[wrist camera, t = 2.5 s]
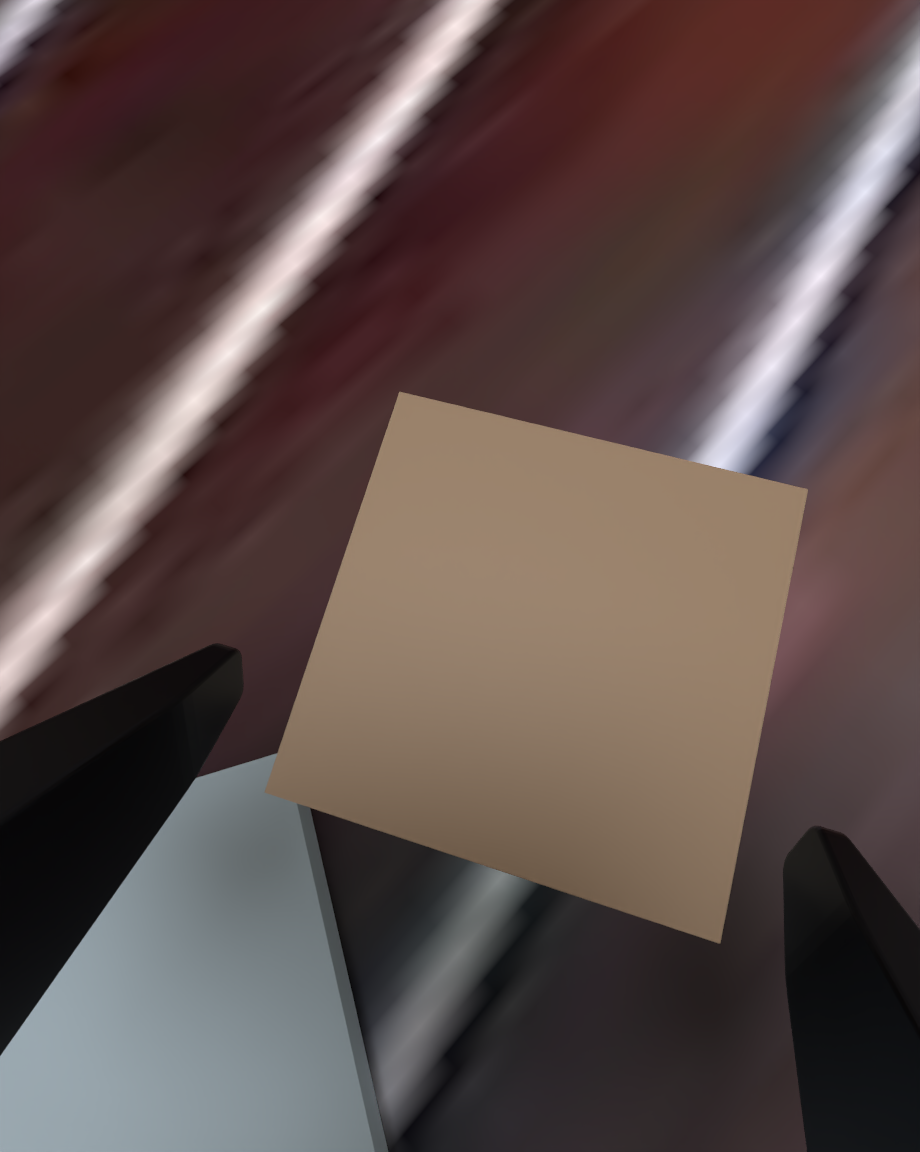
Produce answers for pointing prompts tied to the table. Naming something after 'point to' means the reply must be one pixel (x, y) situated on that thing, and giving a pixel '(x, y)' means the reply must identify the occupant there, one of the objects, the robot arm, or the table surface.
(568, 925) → the table surface
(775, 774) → the table surface
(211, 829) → the slate mat
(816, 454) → the table surface
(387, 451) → the tan block
